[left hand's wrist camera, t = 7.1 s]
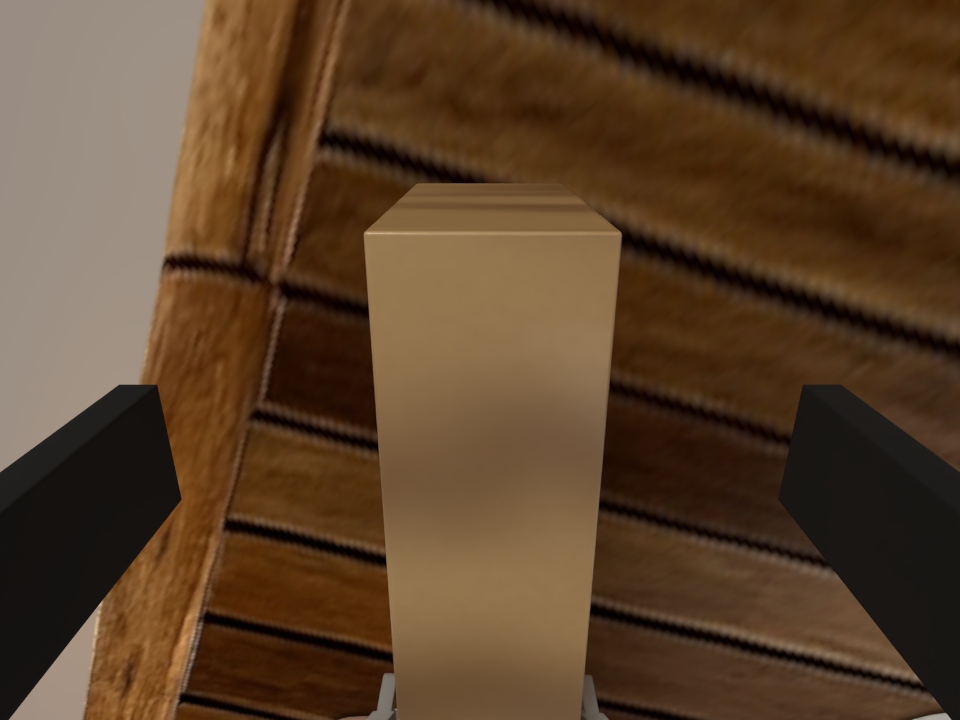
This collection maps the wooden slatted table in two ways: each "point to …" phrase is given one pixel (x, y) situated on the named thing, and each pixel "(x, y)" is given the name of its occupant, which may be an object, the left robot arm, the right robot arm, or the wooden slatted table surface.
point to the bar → (491, 441)
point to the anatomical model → (355, 718)
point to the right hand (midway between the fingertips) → (488, 685)
